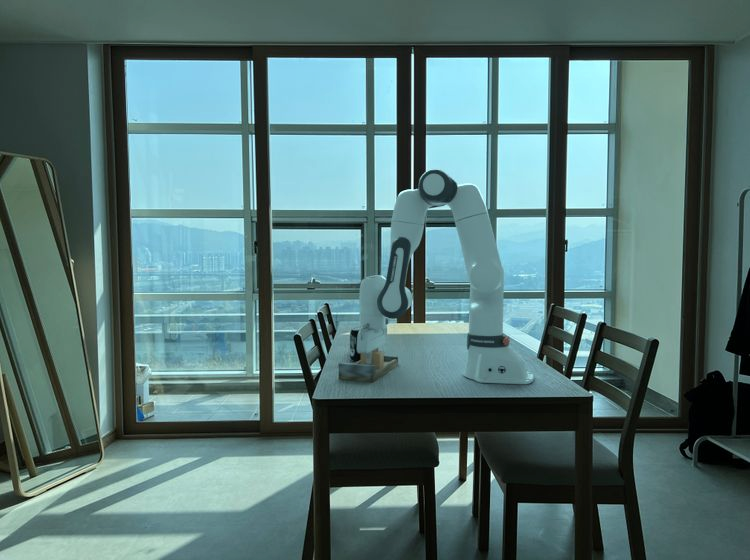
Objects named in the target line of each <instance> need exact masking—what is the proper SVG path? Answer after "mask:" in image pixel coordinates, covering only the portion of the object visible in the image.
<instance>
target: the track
mask: <svg viewBox="0 0 750 560" xmlns="http://www.w3.org/2000/svg"><path fill="white" fill-rule="evenodd" d="M398 365H399V356H397V355H386V354H384V366H383V367H381V368H376V365H367V364H361V360H359V361H358V362H354V363H353V362H343V361H341V362H339V363H338V380H344V381H345V380H347V381H348V380H349V381H358V382H365V383H374V382H376V381H378V379H381V377H383V376H384V375H386V374H387V373H388V372H390V371H392V369H395V367H397V366H398Z"/></svg>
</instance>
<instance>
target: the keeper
mask: <svg viewBox="0 0 750 560" xmlns="http://www.w3.org/2000/svg"><path fill="white" fill-rule="evenodd" d="M384 353H385V352H384V351H380V350H379V351H372V354H371V356H372V358H373V360H372V361H373V362H372V363H371V364H367V363H366V357H365V354H361V364H367V365H376V368H381V367H383V366H384V355H385V354H384Z"/></svg>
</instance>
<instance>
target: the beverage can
mask: <svg viewBox="0 0 750 560" xmlns="http://www.w3.org/2000/svg"><path fill="white" fill-rule="evenodd" d="M360 330H361V328H360V327H359V326H358V327H352V328H351V329H350V332H349V339H350V340H349V358H350V361H351V362H354V363H356V362H358V361H359V360H361V353H358V352H357V336H358V332H359V331H360Z"/></svg>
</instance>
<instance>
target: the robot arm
mask: <svg viewBox="0 0 750 560" xmlns="http://www.w3.org/2000/svg"><path fill="white" fill-rule="evenodd" d="M417 187H418V188H416V189H406V190H403V191H401V192H399V194H398V195H397V197H396V200H395V204H394V207H393V210H392V211H393V212H392V217H391V222H390V235H389V236H390V237H389V239H390V245H389V247H390V249H389V250H390V252H389V261H388V266H387V267H388V268H387V271H386V273H387V274H386V278H385V277H384V276H383V275H382V274H376V275H374V274H373V275H370V276H365V277H363V279H362V280H361V281H360V286H359V296H358V298H359V304H360V309H359V318H358V321H359V325H358V327H360V328H361V330H360V331H359V332H358V336H357V352H358V353H361V354H365V357H366V363H367V364H371V363H372V362H373V361H372V360H373V358H372V356H371V354H372V351H380V349H381V348H380V347H382V346H384V345H385V344H386V343H387V341H388V340H387V339H388V325H389V324H390V323H389V321H390V320H392V319H393V320H395V319H398V318H401V317H402V316H403V315H405V313H407V310H408V309H409V308H410V307H411V305H412V303H413V299H414V298H413V294H412V292H411V290H410V289H409V288H408V287H406V283H407V282H406V281H407V276H408V275H407V274H408V270H409V269H408V268H409V264H410V260H411V258H412V255H413V254H414V253H415V251H416V250H417V249H418V247H419V245H420V242H421V241H422V237H423V234H424V228H425V220H426V215H427V212H428V210H429V209H434V208H440V207H444V206H448V207H449V208H450V210H451V213H452V215H453V216H452V217H453V220H454V224H455V228H456V231H457V235H458V239H459V243H460V248H461V252H462V256H463V257H462V258H463V261H464V266H465V269H466V274H467V278H468V283H469V284H470V285H469V287H470V288H469V305H468V332H467V334H466V349H467V357H466V360H465V361H466V362H465V367H464V370H463V373H462V375H463V377H465V378H468V379H470V380H473V381H476V382H477V383H482V384H483V383H486V384H487V383H488V384H506V385H508V384H509V385H529V384H531V383H532V382H533V381H534V380H535V378H534V376H535V375H534V374H533V373H532V372H530V371H528V369H527V368H528V367H527V364H526V360H525V358H524V357H523V356H522V355H521V354H519V353H518V352H517V351H516V350H514V349H513V348H512V347H511V346H510V343H511V342H510V341H511V340H510V336H509V335H506V334H505V333H504V295H505V294H504V284H505V282H504V281H505V278H504V277H505V272H504V268H503V266H502V262H501V257H500V254H499V250H498V247H497V241H496V238H495V234H494V229H493V226H492V224H491V223H492V222H491V219H490V214H489V213H488V212H489V211H488V209H487V208H488V207H487V205H486V202H485V200H484V197H483V195H482V192H481V191H480V188H479V187H478V186H477V185H475V184H473V183H463V184H458V183H457V182H456V181H455V180H454V179H453V178H452V177H451V176H450V175H449V174H448V173H447V172H446V171H444V170H442V169H439V168H432V169H429V170H426V171H425V172H424V173H423V174H421V176H420V178H419V180H418V185H417ZM389 319H390V320H389Z"/></svg>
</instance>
